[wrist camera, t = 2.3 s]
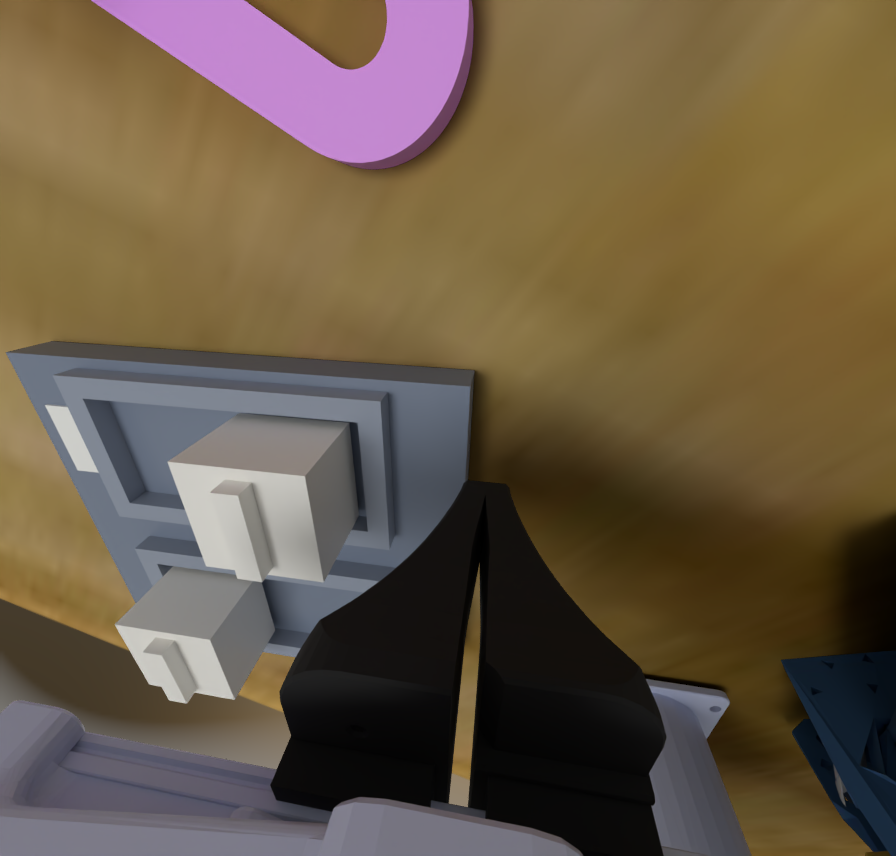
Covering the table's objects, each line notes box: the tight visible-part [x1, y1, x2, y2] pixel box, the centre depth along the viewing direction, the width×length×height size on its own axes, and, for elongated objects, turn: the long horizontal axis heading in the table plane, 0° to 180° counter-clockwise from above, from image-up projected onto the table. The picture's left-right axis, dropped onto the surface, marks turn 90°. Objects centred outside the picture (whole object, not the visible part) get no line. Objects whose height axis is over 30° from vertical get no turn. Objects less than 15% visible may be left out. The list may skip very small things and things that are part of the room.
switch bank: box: [6, 341, 474, 657], centre depth 17 cm, size 15×17×2 cm
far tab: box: [115, 566, 275, 703], centre depth 17 cm, size 4×4×4 cm
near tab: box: [168, 413, 359, 582], centre depth 12 cm, size 4×4×4 cm
